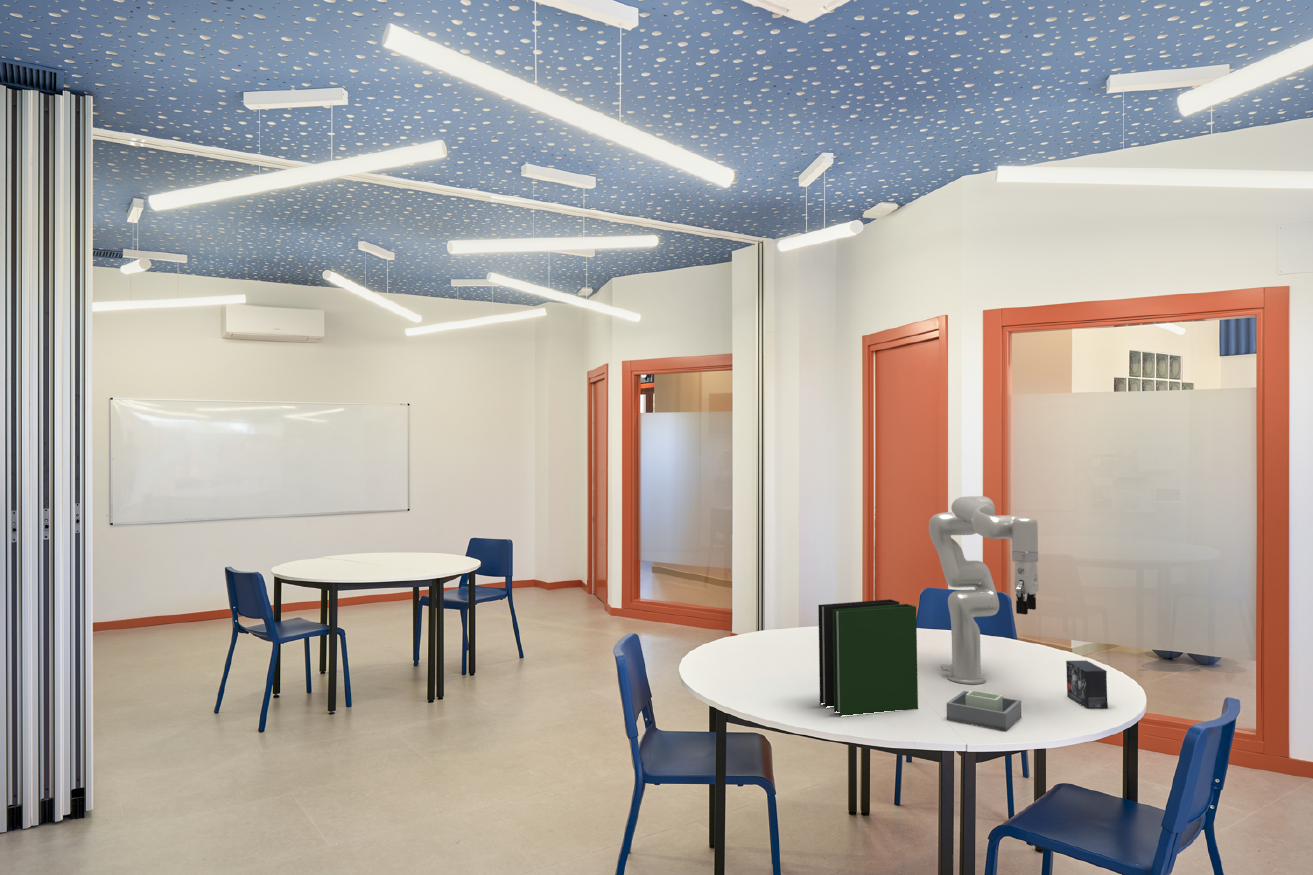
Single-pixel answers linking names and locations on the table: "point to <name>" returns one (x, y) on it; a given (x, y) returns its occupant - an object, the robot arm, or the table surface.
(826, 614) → the binder
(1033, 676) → the table surface
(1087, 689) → the small box
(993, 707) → the small crate
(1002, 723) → the big crate
